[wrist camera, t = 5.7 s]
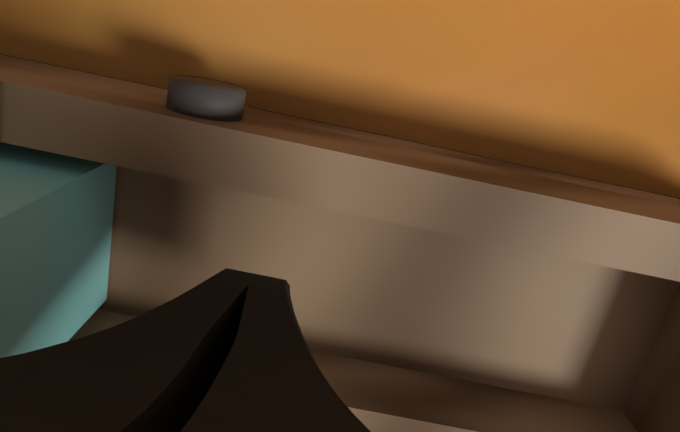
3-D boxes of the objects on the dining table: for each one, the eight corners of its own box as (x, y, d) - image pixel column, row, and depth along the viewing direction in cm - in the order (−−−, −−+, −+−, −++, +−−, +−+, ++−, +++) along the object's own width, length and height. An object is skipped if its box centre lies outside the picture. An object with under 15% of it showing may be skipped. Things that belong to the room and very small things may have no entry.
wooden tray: (735, 186, 14) (840, 228, 11) (616, 443, 16) (674, 533, 13) (-328, -43, 12) (-538, -66, 10) (-273, 274, 15) (-424, 331, 12)
